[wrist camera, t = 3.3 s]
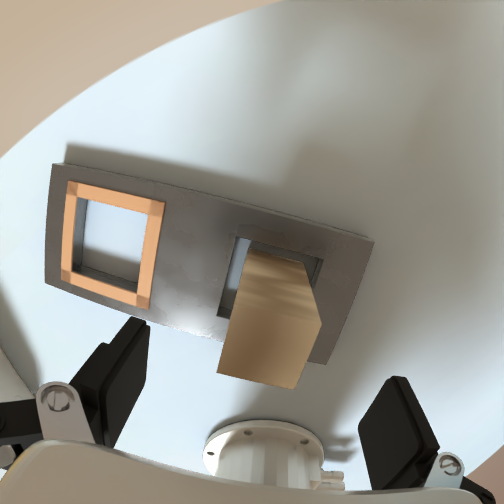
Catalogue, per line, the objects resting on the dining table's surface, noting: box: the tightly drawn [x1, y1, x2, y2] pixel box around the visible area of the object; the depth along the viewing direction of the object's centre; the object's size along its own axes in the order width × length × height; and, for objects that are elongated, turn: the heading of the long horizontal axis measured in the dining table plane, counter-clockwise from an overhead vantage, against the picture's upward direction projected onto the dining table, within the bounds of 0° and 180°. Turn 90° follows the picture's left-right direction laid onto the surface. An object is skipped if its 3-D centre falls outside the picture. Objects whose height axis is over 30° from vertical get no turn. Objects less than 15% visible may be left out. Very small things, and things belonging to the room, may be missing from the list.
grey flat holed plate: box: [45, 163, 374, 365], centre depth 22 cm, size 24×10×2 cm, turn 76°
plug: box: [216, 248, 322, 390], centre depth 19 cm, size 4×4×9 cm
